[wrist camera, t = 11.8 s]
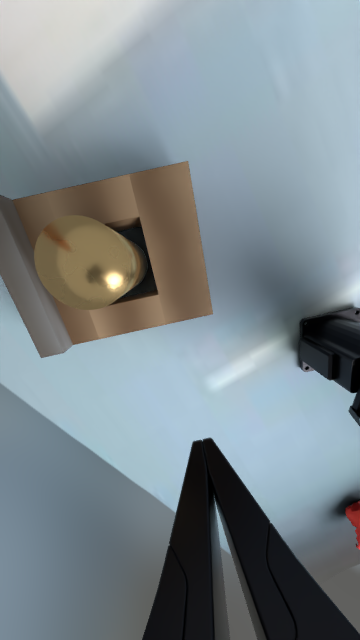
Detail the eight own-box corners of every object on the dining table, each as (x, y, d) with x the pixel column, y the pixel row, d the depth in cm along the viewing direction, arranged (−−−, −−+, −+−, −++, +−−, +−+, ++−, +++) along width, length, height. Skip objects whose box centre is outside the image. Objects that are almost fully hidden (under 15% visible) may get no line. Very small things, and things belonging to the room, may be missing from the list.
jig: (183, 182, 16) (190, 148, 11) (205, 305, 19) (217, 319, 15) (24, 217, 16) (-37, 198, 11) (72, 334, 19) (41, 357, 15)
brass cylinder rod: (140, 234, 17) (112, 205, 8) (152, 282, 18) (139, 299, 10) (93, 245, 17) (17, 226, 8) (108, 292, 18) (56, 318, 10)
